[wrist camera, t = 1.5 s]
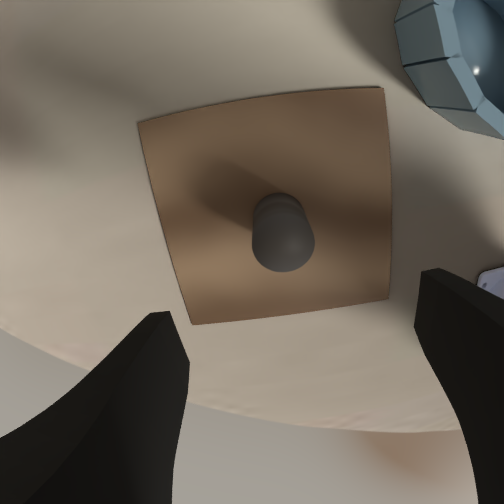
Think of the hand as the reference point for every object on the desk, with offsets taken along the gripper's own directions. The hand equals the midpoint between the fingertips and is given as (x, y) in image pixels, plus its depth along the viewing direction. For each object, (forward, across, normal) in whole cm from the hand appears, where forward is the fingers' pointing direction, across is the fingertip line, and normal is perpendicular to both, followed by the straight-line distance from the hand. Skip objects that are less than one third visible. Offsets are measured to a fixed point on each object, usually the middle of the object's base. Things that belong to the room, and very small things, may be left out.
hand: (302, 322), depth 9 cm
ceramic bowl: (+9, -13, -9) cm, 18 cm away
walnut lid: (+10, 0, 0) cm, 10 cm away
